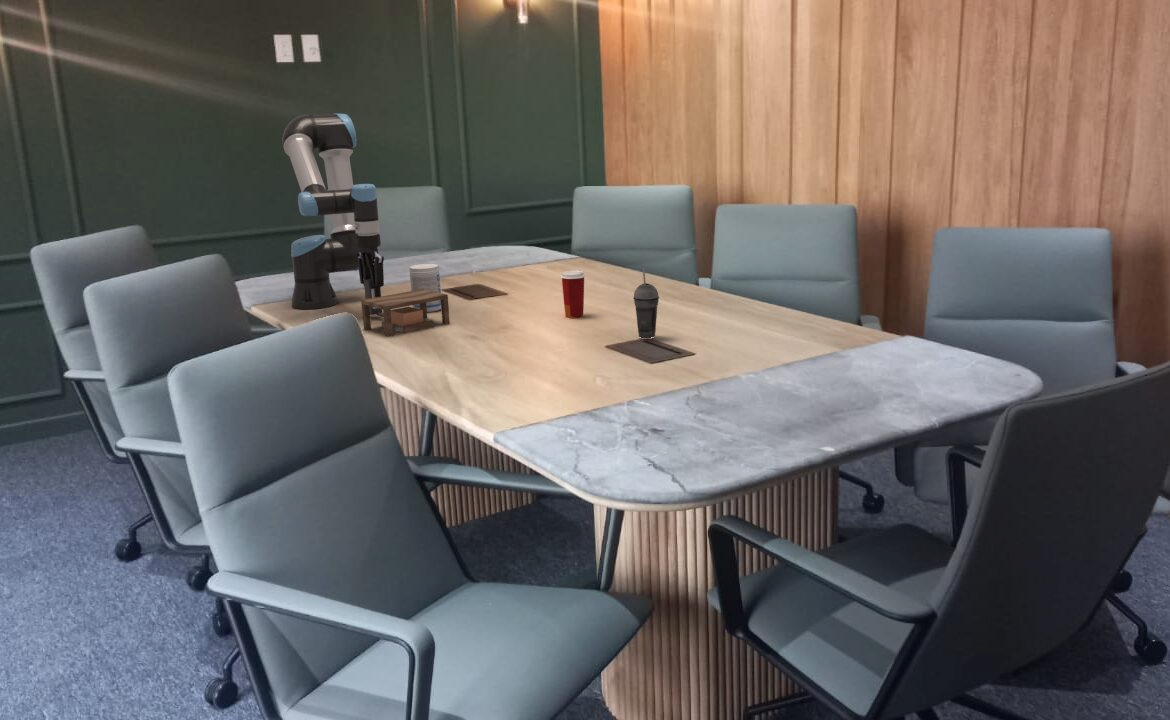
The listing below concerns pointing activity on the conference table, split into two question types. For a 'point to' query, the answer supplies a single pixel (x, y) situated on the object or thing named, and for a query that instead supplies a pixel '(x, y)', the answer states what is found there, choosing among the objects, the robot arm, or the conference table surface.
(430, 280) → the supplement tub
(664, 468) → the conference table surface
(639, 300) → the beverage cup
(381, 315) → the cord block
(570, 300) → the paper cup
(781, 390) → the conference table surface
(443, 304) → the shelf
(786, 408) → the conference table surface
